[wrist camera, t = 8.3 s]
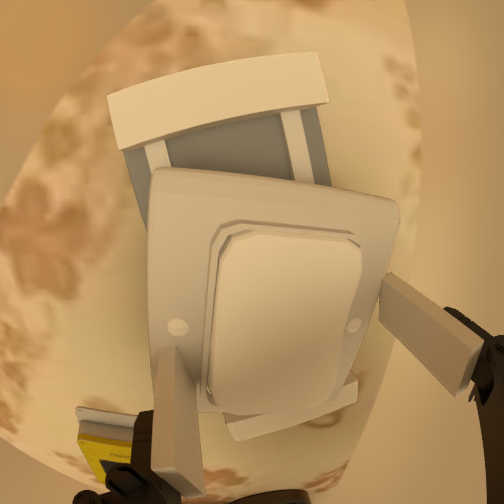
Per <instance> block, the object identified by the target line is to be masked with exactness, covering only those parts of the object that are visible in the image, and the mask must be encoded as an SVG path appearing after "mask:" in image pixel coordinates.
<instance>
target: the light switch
mask: <svg viewBox="0 0 504 504" xmlns="http://www.w3.org/2000/svg"><path fill="white" fill-rule="evenodd" d="M399 224H400V213H399V207H398V204H397V203H396V202H395V201H394V200H392V199H389V198H384V197H380V196H375V195H370V194H365V193H361V192H355V191H350V190H345V189H340V188H334V187H329V186H323V185H317V184H311V183H305V182H299V181H292V180H286V179H279V178H272V177H264V176H257V175H249V174H240V173H231V172H222V171H212V170H202V169H190V168H177V167H159V168H156V169H155V170H154V171H153V173H152V176H151V182H150V189H149V203H148V222H147V260H146V281H147V318H148V337H149V352H150V364H151V375H152V384H153V393H154V401H155V390H156V380H157V370H158V361H159V352H160V349H162V348H166V347H171V346H175V345H176V347H177V349H178V351H179V353H180V355H181V357H182V359H183V361H184V363H185V365H186V367H187V369H188V371H189V373H190V375H191V377H192V379H193V380H194V382H195V384H196V395H197V410H198V413H219V412H228V413H231V414H235V415H238V416H241V415H256V414H268V413H278V412H287V411H295V410H302V409H309V408H313V407H315V406H317V405H319V404H321V403H324V402H330V401H333V400H335V399H336V398H337V397H338V395H339V393H340V391H341V389H342V386H343V384H344V382H345V380H346V378H347V375H348V373H349V371H350V369H351V366H352V364H353V362H354V360H355V357H356V355H357V352H358V350H359V348H360V345H361V343H362V340H363V338H364V335H365V332H366V330H367V327H368V325H369V322H370V319H371V316H372V314H373V311H374V308H375V305H376V302H377V299H378V297H379V294H380V291H381V285H382V279H383V278H384V277H385V275H386V272H387V268H388V265H389V262H390V258H391V255H392V251H393V247H394V244H395V240H396V236H397V232H398V228H399ZM207 385H208V387H209V389H210V391H211V393H212V395H211V394H209V393H208V391H207Z"/></svg>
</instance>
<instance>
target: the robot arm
mask: <svg viewBox="0 0 504 504" xmlns="http://www.w3.org/2000/svg"><path fill="white" fill-rule="evenodd" d="M379 321H380V322H381V323H382V324H383V325H384V326H385V327H386V328H387V329H388V330H389V331H390V332H391V333H392V334H393V335H394V336H395V337H396V338H397V339H398V340H399V341H400V342H401V343H402V344H403V345H404V346H405V347H406V348H407V349H408V350H409V351H410V352H411V353H412V354H413V355H414V356H415V357H416V358H417V359H418V360H419V361H420V362H421V363H422V364H423V365H424V366H425V367H426V368H427V369H428V370H429V371H430V372H431V373H432V374H433V376H434V377H435V378H436V379H437V380H438V381H439V382H440V383H441V384H442V385H443V386H444V387H445V388H446V389H447V390H448V391H449V392H450V393H451V394H452V396H453V397H456V396H458V395H459V394H461V393H462V392H463V391H464V390H466V389H467V387H468V385H469V382H470V380H472V381H473V382H474V383H475V384H474V387H473V389H472V391H471V394H470V396H469V402H470V401H471V400H472V398H473V395H475V398H474V401H476V405H477V410H478V415H479V421H480V426H481V433H482V440H483V448H484V457H485V469H486V484H487V485H486V487H487V504H504V335H498V336H495V337H493V336H492V335H490V334H489V333H488V332H486V331H485V330H484V329H482V328H481V327H480V326H478V325H477V324H476V323H474V322H473V321H471V320H470V319H469V318H467V317H465V315H463V314H462V313H461V312H459V311H458V310H456V309H453V308H450V307H445V308H443V309H442V308H441V307H440V306H438V305H437V304H436V303H434V302H433V301H431V300H430V299H429V298H427V297H426V296H424V295H423V294H421V293H420V292H419V291H417V290H416V289H415V288H413V287H412V286H410V285H409V284H407V283H406V282H404V281H403V280H402V279H400V278H399V277H397V276H396V275H394V274H393V273H391V272H390V273H387V274H386V275H385V277H384V278H383V279H382V285H381V291H380V294H379ZM133 433H134V435H133V438H132V442H133V443H132V448H131V459H130V463H120V464H117V465H115V466H113V467H112V468H111V469H110V470H109V471H108V473H107V474H106V478H105V484H106V488H107V489H109V490H110V492H107V493H104V494H100V495H98V494H97V493H96V492H94V491H91V490H83V491H81V492H79V493H78V494H77V495H76V496H75V497H74V499H73V504H182V503H181V495H182V496H183V497H185V498H186V499H190V498H199V497H206V490H205V482H204V473H203V464H202V455H201V445H200V434H199V422H198V410H197V395H196V384H195V382H194V380H193V379H192V377H191V375H190V373H189V371H188V369H187V367H186V365H185V363H184V361H183V359H182V357H181V355H180V353H179V351H178V349H177V347H176V345H175V346H171V347H166V348H162V349H160V352H159V361H158V370H157V380H156V390H155V401H154V410H150V411H143V412H140V413H139V415H138V417H137V418H136V420H135V422H134V429H133ZM230 504H311V501H310V498H309V495H308V493H306V492H304V491H300V490H285V491H276V492H269V493H264V494H259V495H255V496H251V497H247V498H244V499H240V500H238V501H235V502H233V503H230Z"/></svg>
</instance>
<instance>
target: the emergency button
mask: <svg viewBox="0 0 504 504" xmlns="http://www.w3.org/2000/svg"><path fill="white" fill-rule="evenodd" d="M76 415H77V418H78V420H79V423H80V426H79V432H78V438H77V443H78V445H79V447H80V449H81V451H82V453H83V455H84V456H85V458H86V460H87V462H88V464H89V466H90V468H91V469H92V471H93V473H94V475H95V476H96V478H97V480H98V481H99V482H101V483H103V484H105V478H106V474H107V473H108V471H109V470H110V469H111V468H112V467H113V466H115V465H117V464H120V463H130V459H131V448H132V443H133V442H132V438H133V435H134V433H133V429H134V422H135V420H136V418H137V417H138V415H130V414H123V413H116V412H110V411H104V410H98V409H93V408H87V407H82V406H78V407H77V408H76Z"/></svg>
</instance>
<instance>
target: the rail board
mask: <svg viewBox="0 0 504 504" xmlns="http://www.w3.org/2000/svg"><path fill="white" fill-rule="evenodd" d="M107 100H108V105H109V110H110V115H111V119H112V124H113V128H114V133H115V137H116V141H117V145H118V149H119V150H123V152H124V156H125V160H126V164H127V167H128V171H129V175H130V178H131V182H132V185H133V189H134V192H135V196H136V199H137V202H138V206H139V209H140V212H141V215H142V219H143V222H144V225H145V228H146V231H147V222H148V203H149V189H150V182H151V176H152V173H153V171H154V170H155V169H156V168H159V167H177V168H190V169H202V170H212V171H222V172H231V173H240V174H249V175H257V176H264V177H272V178H279V179H286V180H292V181H299V182H305V183H311V184H317V185H323V186H329V187H332V186H331V180H330V174H329V168H328V163H327V157H326V152H325V147H324V142H323V137H322V132H321V127H320V123H319V118H318V114H317V109H316V107H317V106H320V105H323V104H326V103H329V102H330V101H329V96H328V92H327V88H326V84H325V80H324V76H323V73H322V69H321V65H320V62H319V58H318V54H317V52H304V53H289V54H278V55H268V56H260V57H252V58H245V59H239V60H233V61H227V62H222V63H216V64H211V65H207V66H202V67H198V68H193V69H189V70H185V71H181V72H177V73H173V74H170V75H166V76H163V77H159V78H156V79H153V80H149V81H146V82H143V83H140V84H137V85H134V86H131V87H128V88H126V89H123V90H120V91H117V92H115V93H112V94H109V95H107ZM357 398H358V379H357V378H356V376H355V375H354V374H353V372H352V371H351V369H350V371H349V373H348V375H347V378H346V380H345V382H344V384H343V386H342V389H341V391H340V393H339V395H338V397H337V398H336V399H335V400H333V401H330V402H324V403H321V404H319V405H317V406H315V407H313V408H309V409H302V410H295V411H287V412H278V413H268V414H256V415H241V416H238V415H235V414H231V413H228V412H223V414H224V417H225V423H226V425H227V427H228V429H229V431H230V433H231V434H232V436H233V438H234V440H235V441H236V442H238V441H242V440H246V439H250V438H254V437H258V436H262V435H265V434H269V433H272V432H276V431H279V430H282V429H285V428H289V427H292V426H295V425H298V424H301V423H304V422H306V421H309V420H312V419H315V418H318V417H320V416H323V415H325V414H328V413H331V412H333V411H336V410H338V409H341V408H343V407H345V406H348V405H350V404H352V403H355V402H357Z"/></svg>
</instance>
